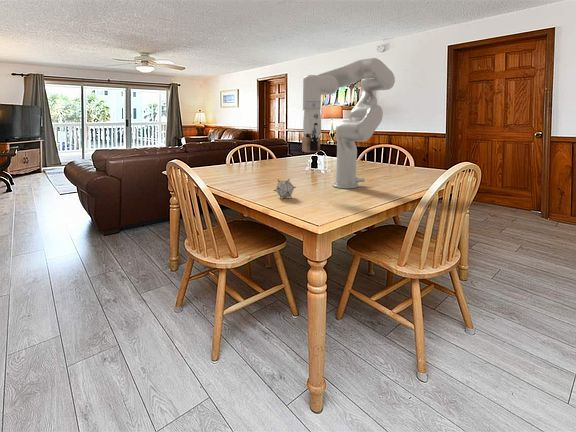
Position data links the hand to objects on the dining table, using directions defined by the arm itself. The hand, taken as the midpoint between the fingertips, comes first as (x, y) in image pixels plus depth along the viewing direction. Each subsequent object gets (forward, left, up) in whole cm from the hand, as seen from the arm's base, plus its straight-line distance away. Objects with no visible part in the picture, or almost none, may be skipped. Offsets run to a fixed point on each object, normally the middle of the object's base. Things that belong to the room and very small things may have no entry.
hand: (310, 149), depth 156 cm
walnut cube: (0, 0, -1) cm, 1 cm away
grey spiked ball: (+13, +5, -20) cm, 24 cm away
